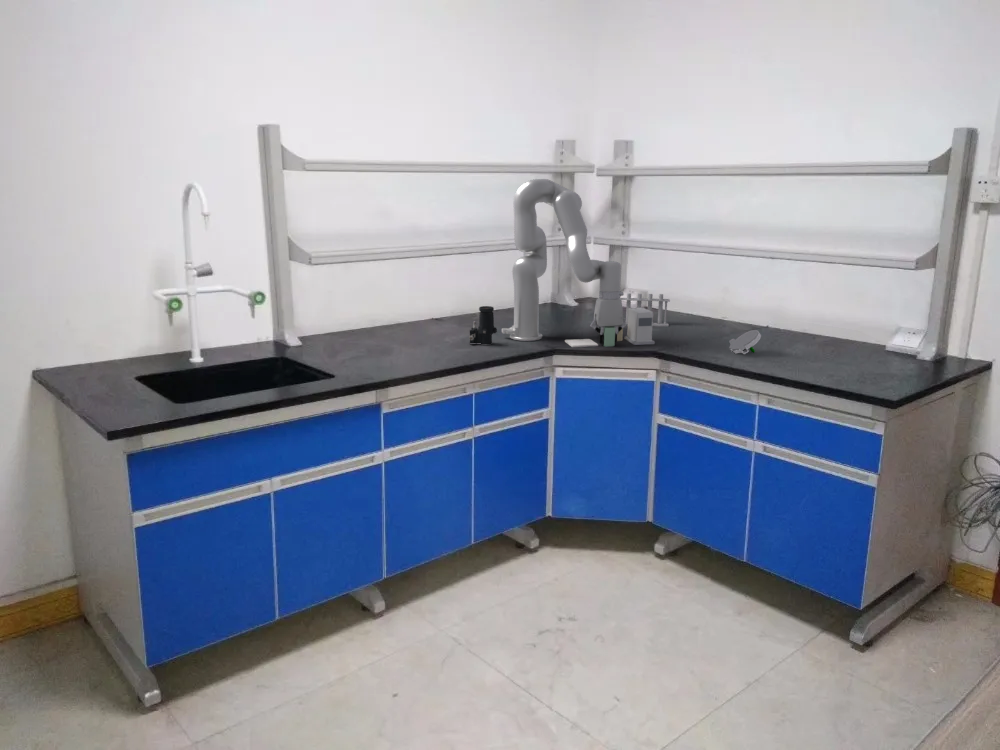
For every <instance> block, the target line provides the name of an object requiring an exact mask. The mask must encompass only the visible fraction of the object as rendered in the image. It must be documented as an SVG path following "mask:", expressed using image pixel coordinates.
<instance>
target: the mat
mask: <svg viewBox="0 0 1000 750" xmlns="http://www.w3.org/2000/svg"><path fill="white" fill-rule="evenodd" d="M564 342H565V343H566V344H567V345H569V346H570V347H571V348H584V347H585V348H587V347H599V344H598V343H597V342H595V341H594V340H592V339H591V338H583V339H581V338H580V339H579V338H578V339H565V340H564Z"/></svg>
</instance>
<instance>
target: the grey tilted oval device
mask: <svg viewBox="0 0 1000 750" xmlns="http://www.w3.org/2000/svg"><path fill="white" fill-rule="evenodd" d="M761 338H762V334H761V333H760V332H759V330H758V329H752V330H749V331H747V332H745V333H742V334H741V335H740V336H738V337H736V338H734V337H733V338H732V339H729V340H728V342H729V344H730V345H729V347H728V349H729V350H730V351H731V352H732V351H733V352H732V353H733V354H734V353H735V354H734V355H736V354H743V355H746V354H748V353H749V352H750V351H751V353H752V352H753V353H755V352H756V350H755V348H754V347H753V346H755V345H756V344H757V343H758V342H759V341H760V340H761Z"/></svg>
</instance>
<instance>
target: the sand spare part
mask: <svg viewBox="0 0 1000 750" xmlns="http://www.w3.org/2000/svg"><path fill="white" fill-rule="evenodd" d="M623 332H624V328H622V329H621V330H620V331H619V333H618V334H617V342H623V337H624V336H623V334H624V333H623Z"/></svg>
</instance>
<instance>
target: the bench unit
mask: <svg viewBox="0 0 1000 750" xmlns="http://www.w3.org/2000/svg"><path fill="white" fill-rule="evenodd" d="M653 320H654V311H652V312H651V311H649V310H648V308H644V307H641V308H637V307H630V308H628V325H627V331H626V332H627V334H626V335H624V336H623V337H624V338H623V340H626V341H627V342H629V343H631V344H632V345H634V346H636V345H637V346H638V345H641V346H642V345H644V346H645V345H655V343H656V342H655V340H653V339H652V338H653V327H654V326H653V322H654V321H653Z"/></svg>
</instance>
